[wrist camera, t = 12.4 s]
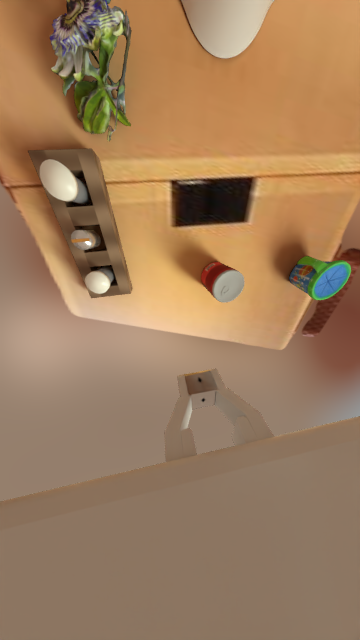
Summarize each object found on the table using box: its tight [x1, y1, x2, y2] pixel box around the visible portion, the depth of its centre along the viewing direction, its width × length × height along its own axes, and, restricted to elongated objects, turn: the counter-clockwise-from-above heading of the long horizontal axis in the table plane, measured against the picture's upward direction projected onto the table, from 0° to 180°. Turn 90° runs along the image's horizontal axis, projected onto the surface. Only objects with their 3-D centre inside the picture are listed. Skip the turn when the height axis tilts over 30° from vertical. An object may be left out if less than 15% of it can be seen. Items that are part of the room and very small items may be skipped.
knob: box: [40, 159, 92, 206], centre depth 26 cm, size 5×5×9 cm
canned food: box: [201, 262, 244, 302], centre depth 39 cm, size 8×8×11 cm
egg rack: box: [28, 149, 132, 298], centre depth 33 cm, size 26×10×4 cm, turn 4°
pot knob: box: [71, 230, 101, 250], centre depth 29 cm, size 3×3×6 cm
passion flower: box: [50, 0, 131, 141], centre depth 21 cm, size 11×11×12 cm
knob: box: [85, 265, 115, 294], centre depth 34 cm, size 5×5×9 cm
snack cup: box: [289, 256, 351, 300], centre depth 43 cm, size 16×10×10 cm
